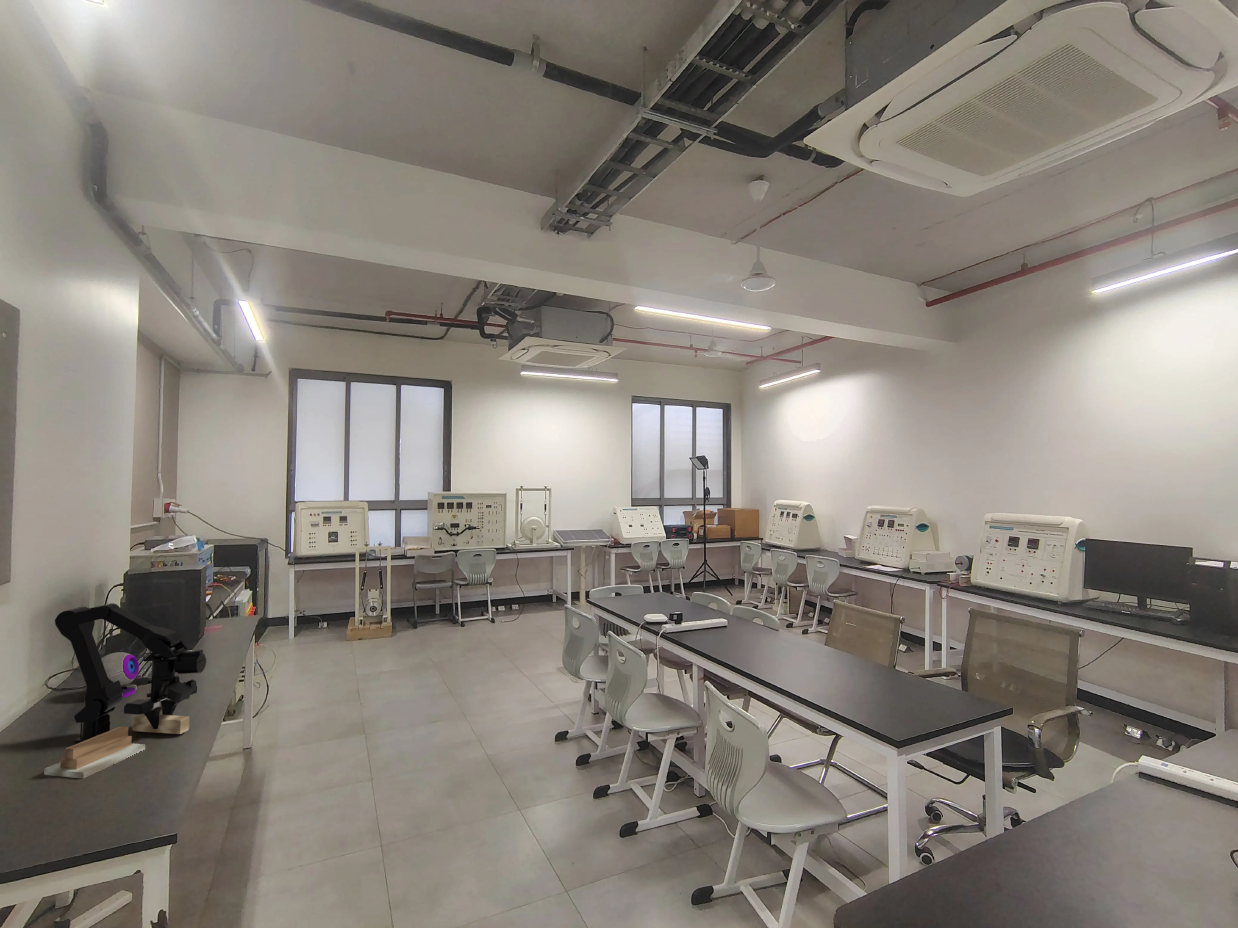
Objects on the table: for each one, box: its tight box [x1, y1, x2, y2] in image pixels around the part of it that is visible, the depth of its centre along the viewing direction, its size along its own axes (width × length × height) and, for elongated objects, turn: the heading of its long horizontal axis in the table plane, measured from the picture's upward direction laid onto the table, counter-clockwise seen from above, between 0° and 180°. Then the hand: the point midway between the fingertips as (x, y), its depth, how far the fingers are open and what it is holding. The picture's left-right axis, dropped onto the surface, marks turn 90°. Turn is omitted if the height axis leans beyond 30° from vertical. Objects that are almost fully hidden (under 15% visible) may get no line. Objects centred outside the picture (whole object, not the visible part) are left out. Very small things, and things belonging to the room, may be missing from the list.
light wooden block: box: [132, 714, 190, 735], centre depth 169 cm, size 16×3×4 cm, turn 83°
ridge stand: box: [43, 725, 146, 779], centre depth 152 cm, size 12×16×6 cm
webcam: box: [101, 651, 140, 699], centre depth 200 cm, size 13×13×15 cm
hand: (161, 726), depth 169 cm, fingers closed on light wooden block, 3 cm apart
